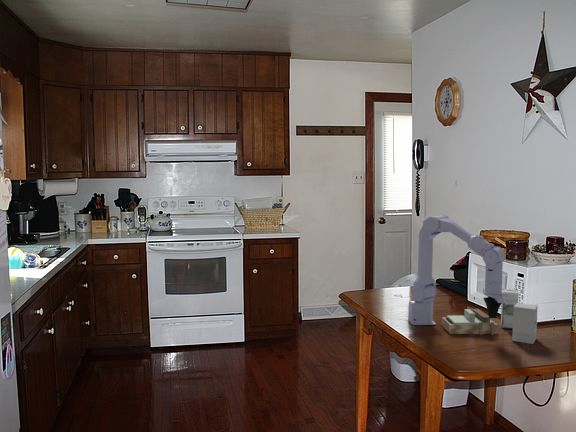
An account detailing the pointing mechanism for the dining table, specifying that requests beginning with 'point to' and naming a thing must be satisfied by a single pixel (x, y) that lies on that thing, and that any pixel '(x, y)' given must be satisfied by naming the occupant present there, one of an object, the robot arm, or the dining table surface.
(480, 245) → the robot arm
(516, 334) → the supplement box
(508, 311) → the syrup box
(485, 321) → the light brown wooden bar
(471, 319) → the lid
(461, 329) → the tan wooden frame
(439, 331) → the dining table surface
